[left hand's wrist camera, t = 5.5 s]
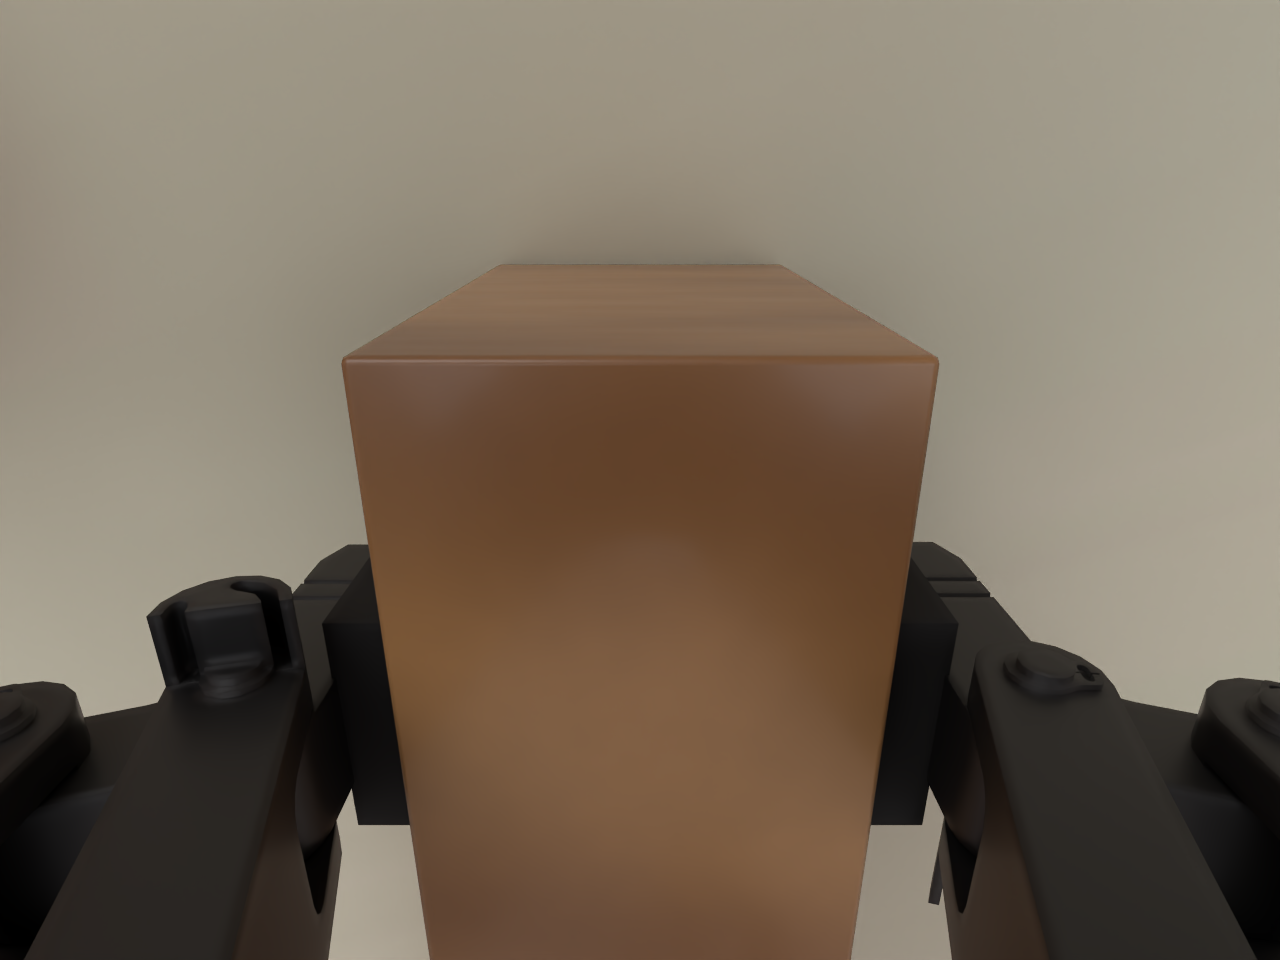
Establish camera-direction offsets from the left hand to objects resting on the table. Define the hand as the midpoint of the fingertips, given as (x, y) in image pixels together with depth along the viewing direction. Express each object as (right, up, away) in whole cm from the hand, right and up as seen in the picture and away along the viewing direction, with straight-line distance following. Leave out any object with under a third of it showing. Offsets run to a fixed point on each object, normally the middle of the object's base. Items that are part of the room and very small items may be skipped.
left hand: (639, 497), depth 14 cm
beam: (0, -26, +11) cm, 28 cm away
